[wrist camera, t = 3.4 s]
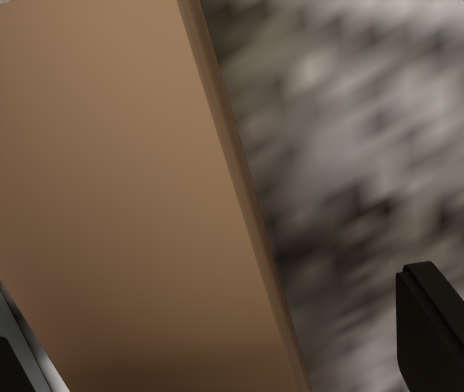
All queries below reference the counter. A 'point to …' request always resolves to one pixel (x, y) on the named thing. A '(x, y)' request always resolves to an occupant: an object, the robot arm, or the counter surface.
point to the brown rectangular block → (134, 204)
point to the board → (21, 347)
